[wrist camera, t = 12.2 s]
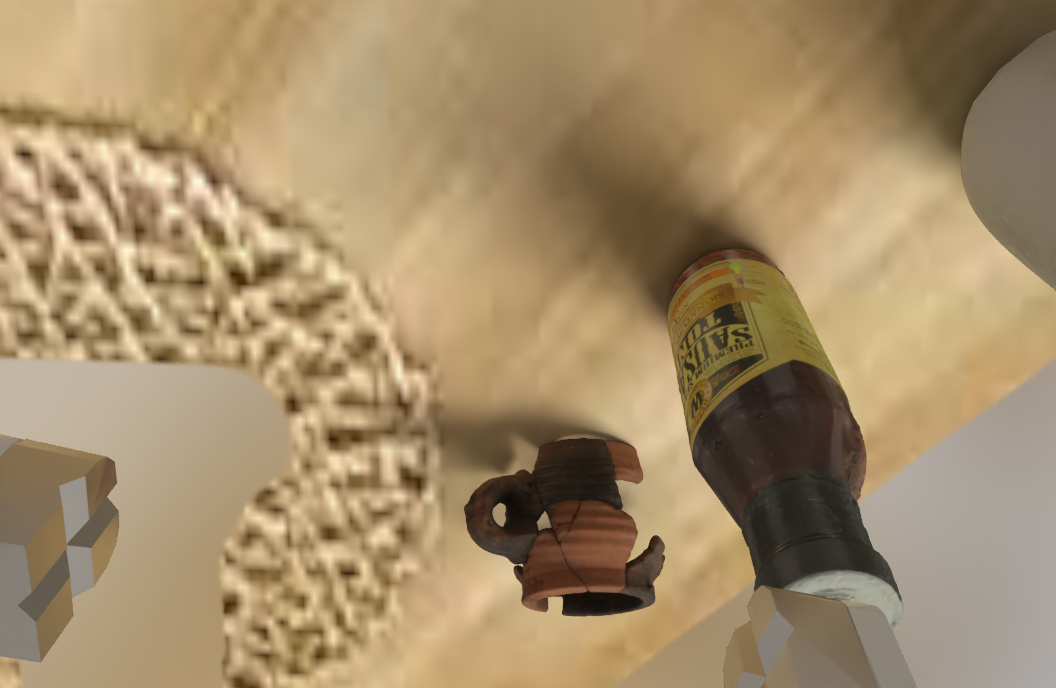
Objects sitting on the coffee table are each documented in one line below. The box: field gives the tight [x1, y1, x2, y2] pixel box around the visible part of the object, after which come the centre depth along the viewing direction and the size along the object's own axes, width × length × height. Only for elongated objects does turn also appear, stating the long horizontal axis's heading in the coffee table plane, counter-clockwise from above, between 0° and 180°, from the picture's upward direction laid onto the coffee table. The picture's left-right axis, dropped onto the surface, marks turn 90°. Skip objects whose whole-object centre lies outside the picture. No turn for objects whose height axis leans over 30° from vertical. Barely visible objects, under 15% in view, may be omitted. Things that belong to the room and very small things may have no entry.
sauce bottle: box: [667, 248, 903, 631], centre depth 32 cm, size 7×6×20 cm
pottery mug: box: [464, 438, 665, 616], centre depth 45 cm, size 12×10×8 cm
